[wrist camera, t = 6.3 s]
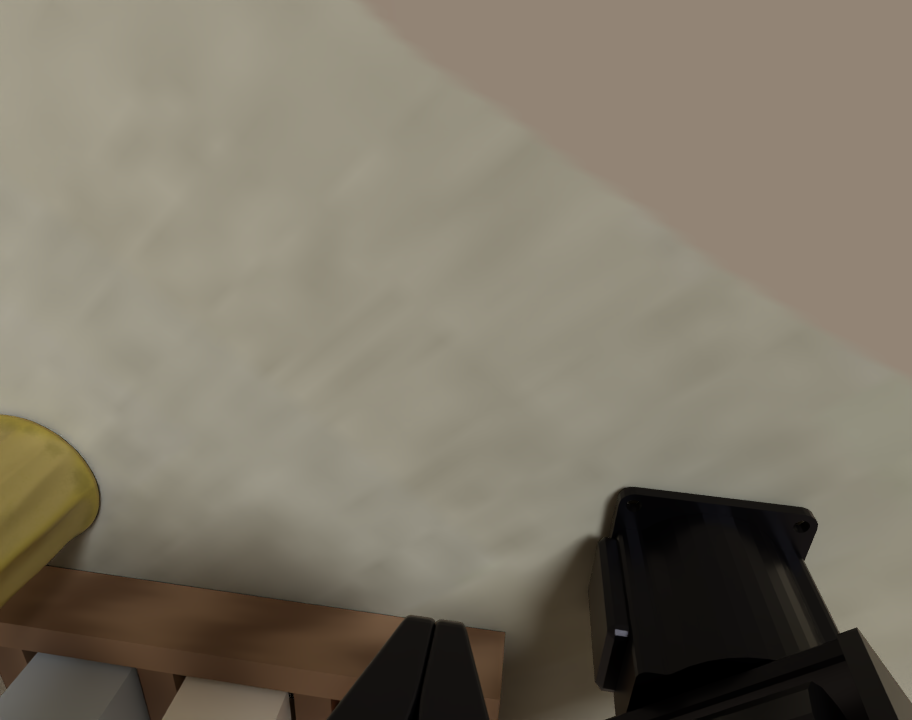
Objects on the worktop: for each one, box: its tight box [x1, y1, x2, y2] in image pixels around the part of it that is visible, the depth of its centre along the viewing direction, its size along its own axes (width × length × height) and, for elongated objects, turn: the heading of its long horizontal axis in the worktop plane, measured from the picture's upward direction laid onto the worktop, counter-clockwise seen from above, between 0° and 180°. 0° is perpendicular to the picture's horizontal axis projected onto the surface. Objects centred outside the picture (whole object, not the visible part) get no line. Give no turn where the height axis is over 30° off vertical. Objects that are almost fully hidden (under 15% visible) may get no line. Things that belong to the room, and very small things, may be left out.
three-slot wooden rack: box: [0, 566, 505, 720], centre depth 27 cm, size 21×8×3 cm, turn 87°
